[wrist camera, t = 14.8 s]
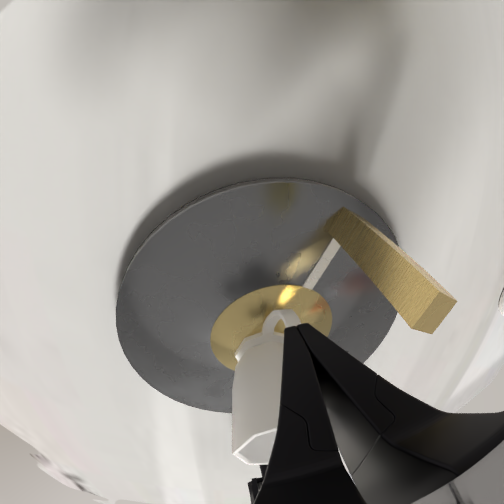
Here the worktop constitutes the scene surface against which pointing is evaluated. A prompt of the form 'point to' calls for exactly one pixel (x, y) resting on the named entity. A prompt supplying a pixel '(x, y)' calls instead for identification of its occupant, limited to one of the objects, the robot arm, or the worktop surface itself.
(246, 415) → the cup
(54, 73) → the worktop surface
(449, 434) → the robot arm
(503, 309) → the fruit juice
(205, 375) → the turntable
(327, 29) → the worktop surface
